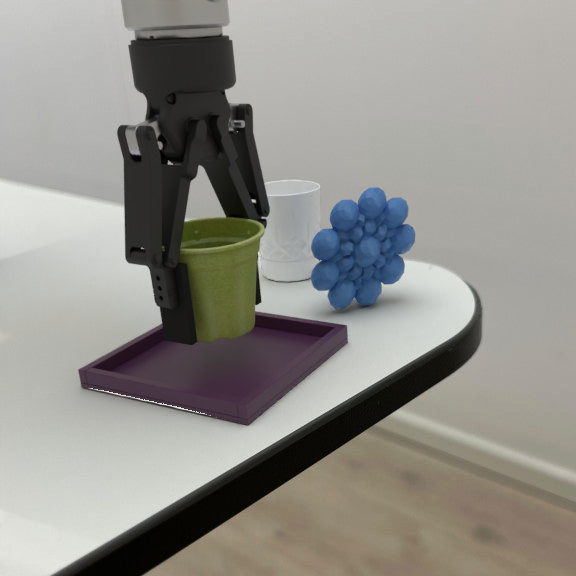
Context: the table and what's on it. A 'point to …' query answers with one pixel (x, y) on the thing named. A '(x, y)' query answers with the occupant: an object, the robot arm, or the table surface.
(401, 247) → the blue flower ornament
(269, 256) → the white cup
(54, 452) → the table surface
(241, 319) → the plant pot
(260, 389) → the tray
